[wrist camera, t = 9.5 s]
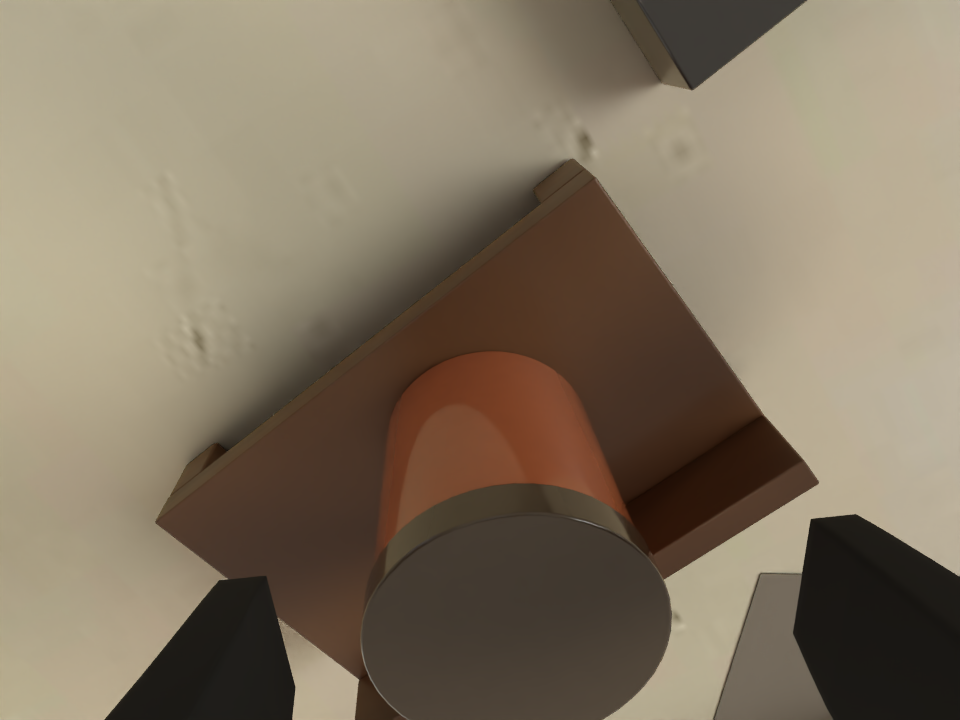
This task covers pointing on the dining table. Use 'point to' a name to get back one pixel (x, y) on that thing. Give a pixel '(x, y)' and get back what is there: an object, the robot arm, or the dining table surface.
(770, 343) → the dining table surface
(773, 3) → the hob
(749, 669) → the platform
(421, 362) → the spice shelf
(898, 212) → the dining table surface
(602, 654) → the jar
